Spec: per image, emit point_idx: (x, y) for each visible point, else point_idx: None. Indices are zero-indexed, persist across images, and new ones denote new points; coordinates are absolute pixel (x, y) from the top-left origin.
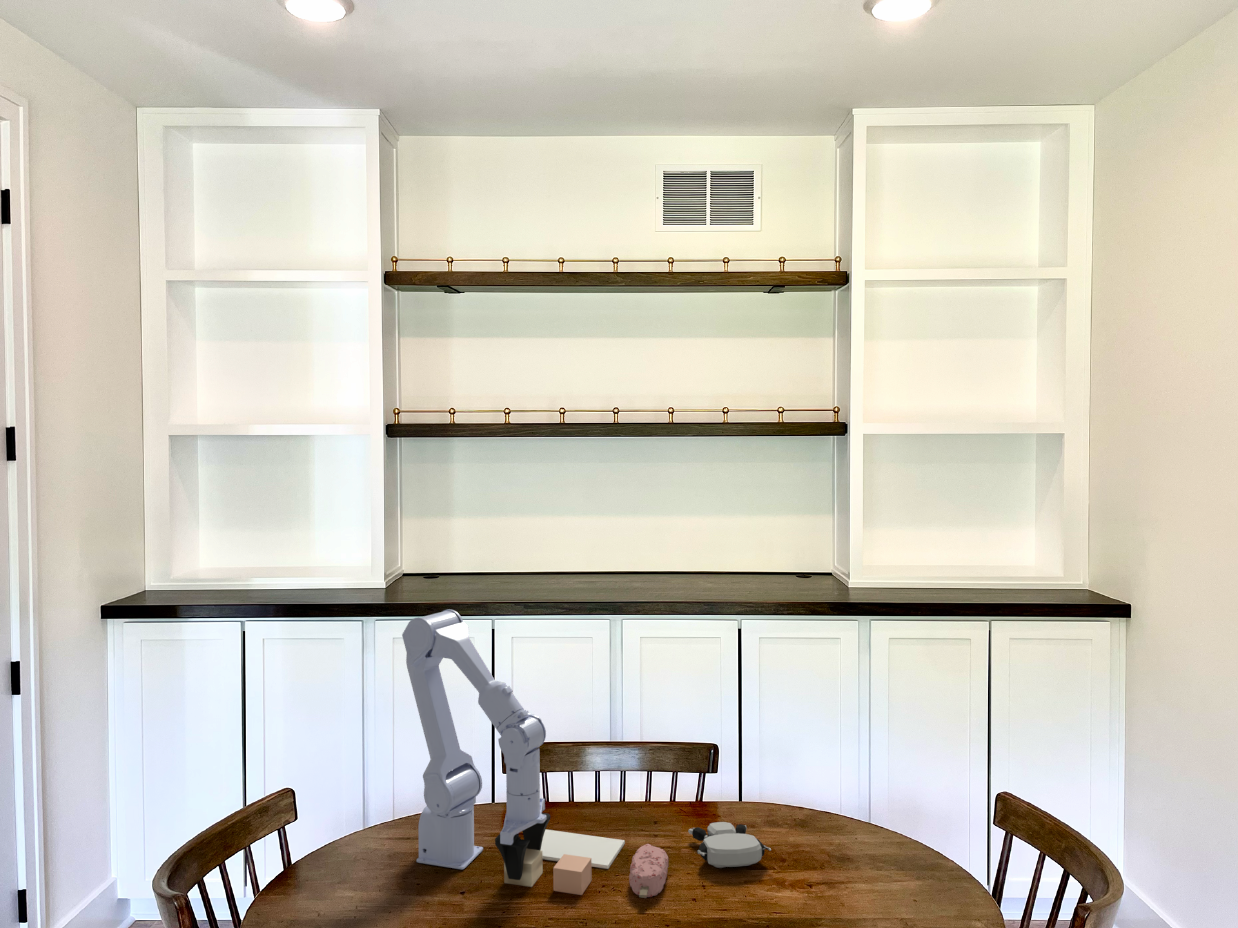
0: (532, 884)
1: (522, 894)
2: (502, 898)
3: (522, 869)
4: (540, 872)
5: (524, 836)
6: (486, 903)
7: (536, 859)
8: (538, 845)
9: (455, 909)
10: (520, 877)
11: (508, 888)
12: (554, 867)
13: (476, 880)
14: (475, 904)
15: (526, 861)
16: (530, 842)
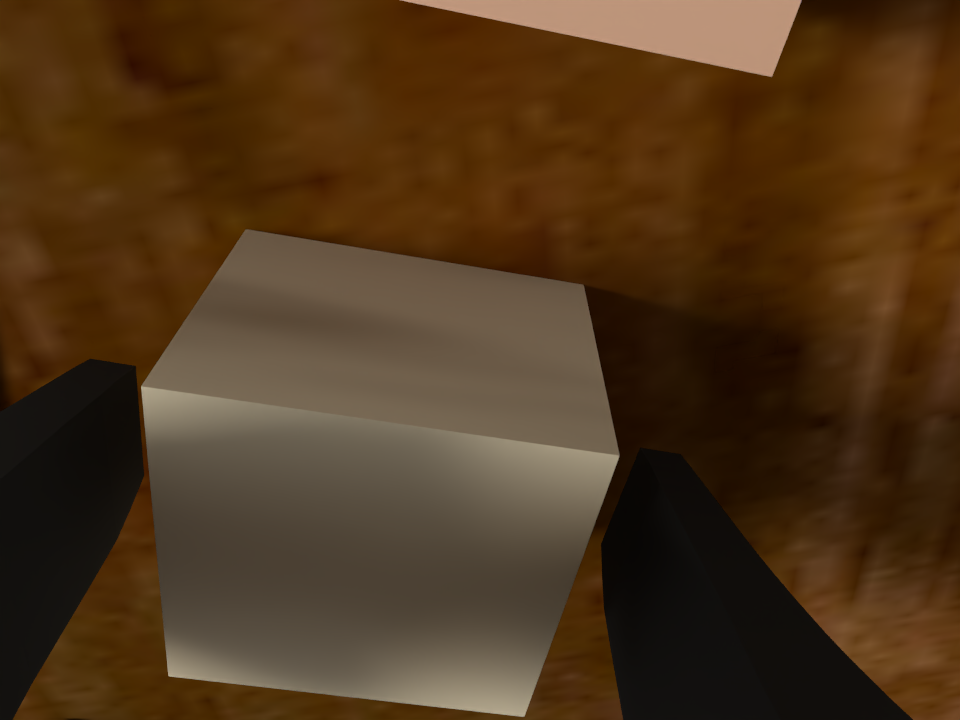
0: (565, 288)
1: (746, 342)
2: (801, 485)
3: (686, 512)
4: (306, 255)
5: (4, 717)
6: (866, 570)
7: (414, 408)
8: (37, 471)
9: (911, 706)
10: (682, 462)
11: (622, 474)
12: (762, 52)
13: None
14: (866, 626)
15: (536, 522)
16: (37, 588)
